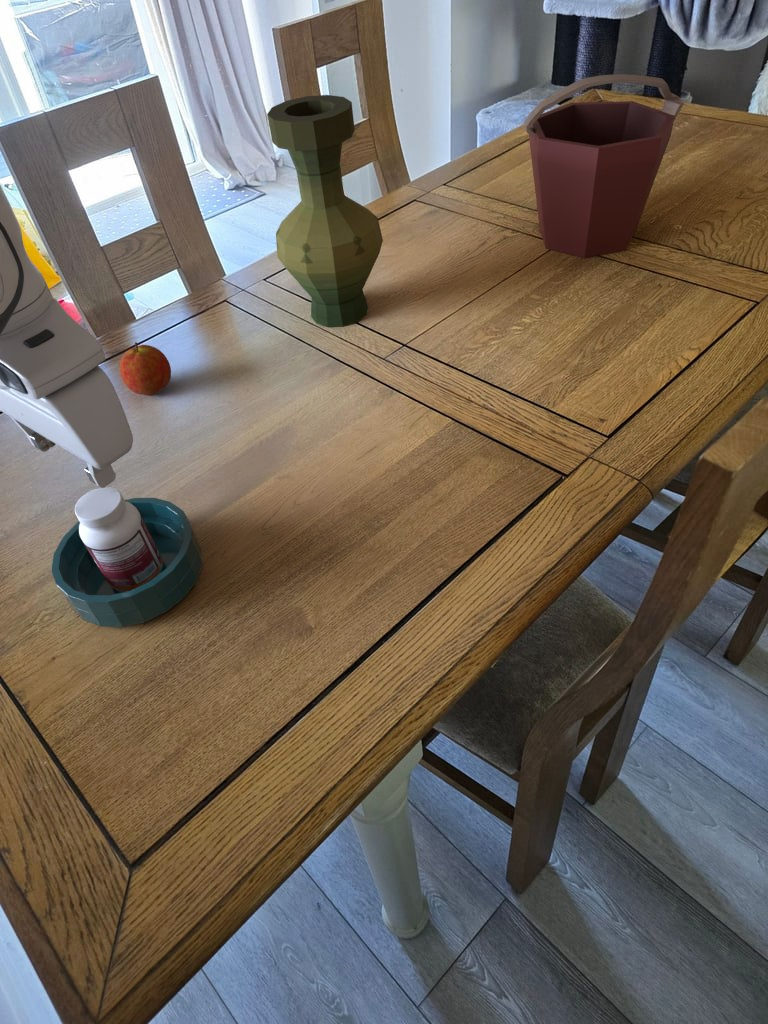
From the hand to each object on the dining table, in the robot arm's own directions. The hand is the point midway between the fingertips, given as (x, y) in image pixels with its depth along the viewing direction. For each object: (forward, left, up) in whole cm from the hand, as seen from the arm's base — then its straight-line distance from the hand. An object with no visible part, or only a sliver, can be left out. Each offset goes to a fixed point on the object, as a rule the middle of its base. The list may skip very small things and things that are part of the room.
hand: (74, 463), depth 65 cm
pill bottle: (0, 0, -17) cm, 17 cm away
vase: (+55, +17, -17) cm, 60 cm away
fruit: (+24, +27, -17) cm, 40 cm away
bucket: (+97, -6, -17) cm, 99 cm away
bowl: (0, 0, -17) cm, 17 cm away
